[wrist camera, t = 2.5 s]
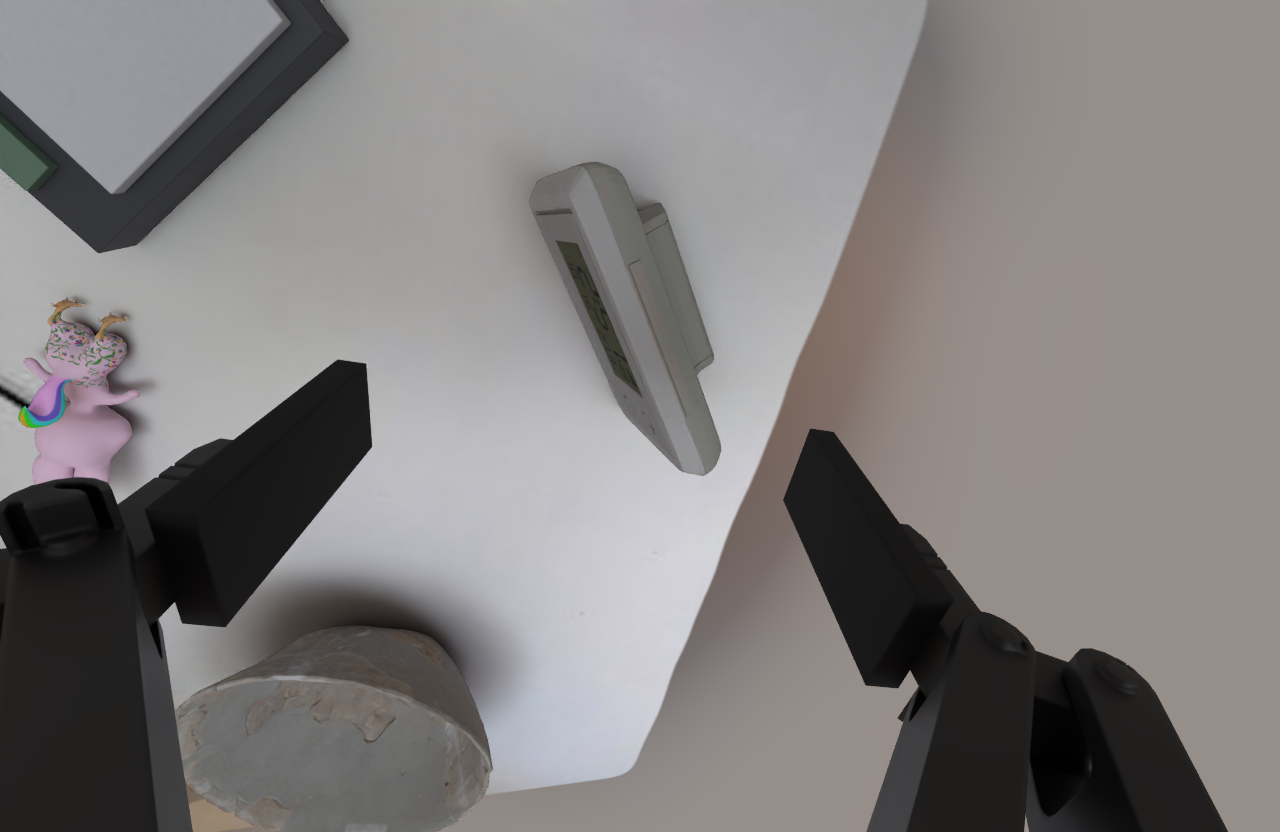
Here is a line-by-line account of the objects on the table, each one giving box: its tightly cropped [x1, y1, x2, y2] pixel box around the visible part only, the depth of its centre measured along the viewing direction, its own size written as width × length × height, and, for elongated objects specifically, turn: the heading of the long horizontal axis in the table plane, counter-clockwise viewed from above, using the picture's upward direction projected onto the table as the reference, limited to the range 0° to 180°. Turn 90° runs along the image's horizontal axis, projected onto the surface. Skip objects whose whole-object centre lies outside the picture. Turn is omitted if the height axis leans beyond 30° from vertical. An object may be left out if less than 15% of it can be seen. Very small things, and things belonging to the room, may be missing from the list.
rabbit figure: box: [18, 297, 140, 485], centre depth 33 cm, size 6×6×15 cm
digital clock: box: [529, 162, 721, 476], centre depth 28 cm, size 16×9×11 cm, turn 9°
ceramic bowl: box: [176, 625, 493, 832], centre depth 44 cm, size 22×23×10 cm
